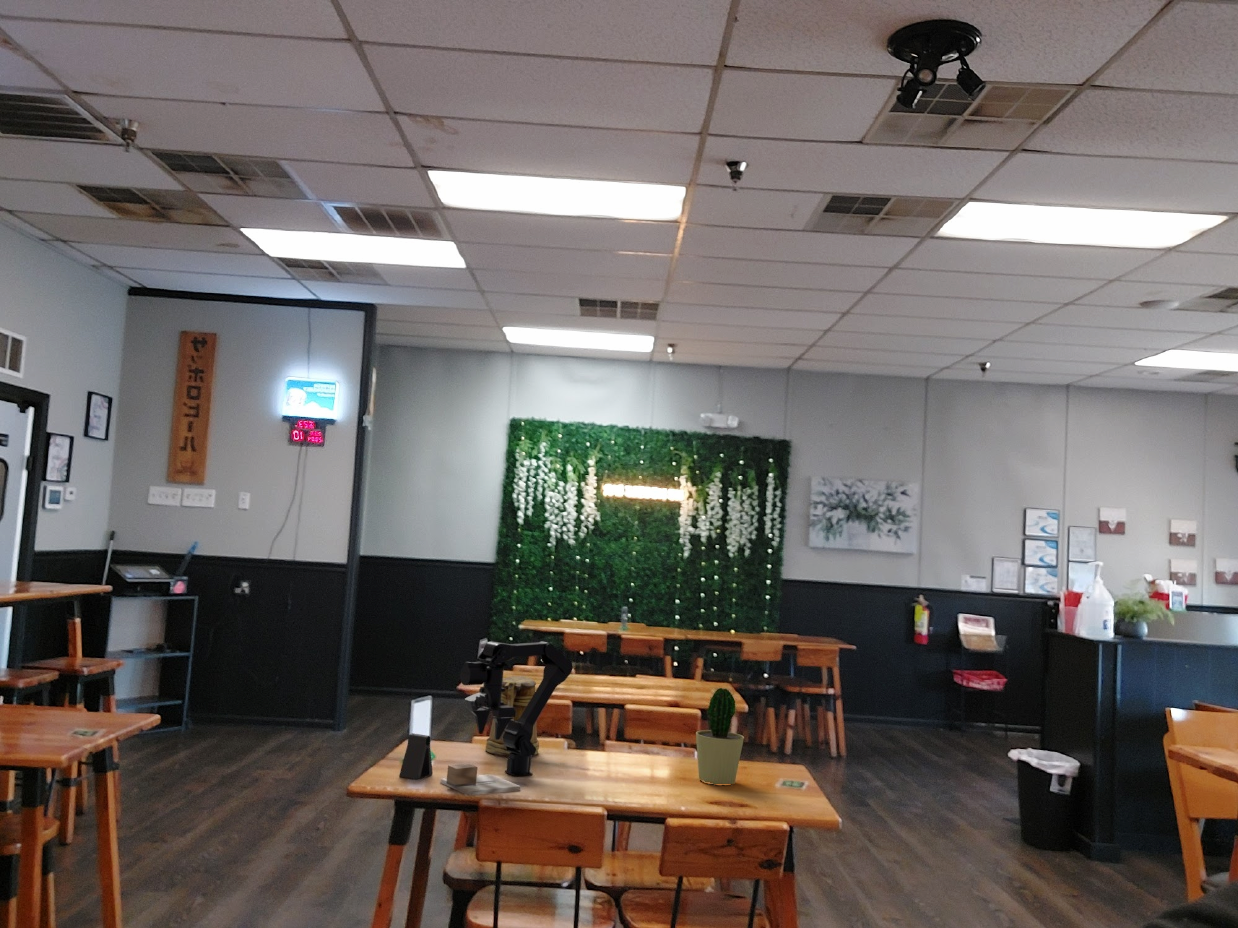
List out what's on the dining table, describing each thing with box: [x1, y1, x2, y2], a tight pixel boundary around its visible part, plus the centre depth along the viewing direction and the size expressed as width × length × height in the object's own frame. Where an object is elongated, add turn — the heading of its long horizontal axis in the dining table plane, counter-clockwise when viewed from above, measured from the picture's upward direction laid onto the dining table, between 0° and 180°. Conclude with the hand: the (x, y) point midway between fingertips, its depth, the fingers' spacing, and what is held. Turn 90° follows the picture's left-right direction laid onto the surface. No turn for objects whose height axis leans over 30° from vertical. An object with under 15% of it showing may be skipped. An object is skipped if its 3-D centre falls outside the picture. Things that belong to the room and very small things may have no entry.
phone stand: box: [398, 732, 434, 781], centre depth 300 cm, size 9×6×12 cm, turn 160°
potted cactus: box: [695, 687, 745, 785], centre depth 325 cm, size 15×15×30 cm
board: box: [440, 773, 522, 797], centre depth 293 cm, size 17×16×1 cm
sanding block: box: [446, 763, 478, 787], centre depth 289 cm, size 7×4×5 cm, turn 130°
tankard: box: [485, 675, 540, 758], centre depth 344 cm, size 18×24×25 cm
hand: (488, 736), depth 306 cm, fingers open, 9 cm apart
